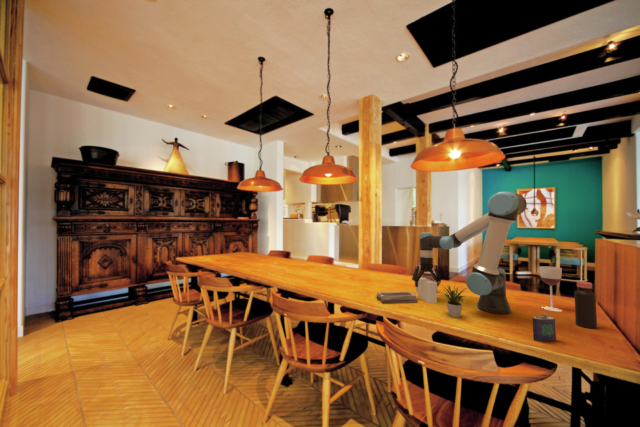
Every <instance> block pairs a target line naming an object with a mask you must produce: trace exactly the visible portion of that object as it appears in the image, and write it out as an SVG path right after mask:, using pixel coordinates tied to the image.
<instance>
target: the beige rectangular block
mask: <svg viewBox="0 0 640 427" xmlns="http://www.w3.org/2000/svg"><path fill="white" fill-rule="evenodd" d="M418 282H420V293H418V292H417V297H418V298H419V299H421V300H423V301H425V302H426V303H429V304H436V303H438V299H437V298H438V297H437V295H438V294H437V293H438V287H436V282H434V281H431V280H429V279H426V278H422V277H421V278H420V279H419V281H418Z"/></svg>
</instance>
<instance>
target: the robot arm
mask: <svg viewBox="0 0 640 427" xmlns="http://www.w3.org/2000/svg"><path fill="white" fill-rule="evenodd" d="M527 204H528V203H527V200H526V198H525V197H524V196H523V195H521V194H519V193H515V192H512V191H499V192H496V193H493V194H492V195H491V196H490V197H489V199H488V201H487V208H488V212H487V213H485V214H484V215H482V216H480V217H479V218H477V219H475V220H474V221H472V222H471V223H468V224H467V225H465V226H463V227H462V228H461V229H459V230H457V231H455V232H454V233H452V234H451V235H441V236H440V235H439V236H438V235H433V232H428V231H427V232H424V231H423V232H420V233H419V256H420V257H419V265H417V264H415V265H414V266H415V267H414V271H413V274H412V277H411V280H412V281H414V287H415V290H416V293H417V294H418V293H420V282H418V281H419V279H420V278H422V274H423V273H424V272H430V273H431V275H432V276H433V278H434V280H435V281H434V282H436V287H437V288H439V285H438V283H439V281H441V282H442V280H443V279H442V278H441V277H442V276H441V274H440V271H439V266H438V265H437V264H434V258H433V257H434V249H439V250H440V249H441V250H442V249H443V250H451V249H456V248H460V247H461V246H462V244H463V243H465V242H467V241H469V240H471V239H472V238H474V237H476V236H478V235H480V234H482V233H484V232H485V231H486V233H485V238H484V239H483V240H484V241H483V243H482V247H481V250H480V254H479V257H478V260H477V263H476V264H473V265H472V268H471V272H470V273H468V275H466V278H465V285H466V288H467V289H468V290H469V291H470V292H471V293H473V294H475V295H478V296H479V297H478V300H477V303H476V305H477V309H479V310H481V311H484V312H487V313H491V314H498V315H509V314H511V312H512V311H511V306H510V303H509V301H508V299H507V281H506V280H507V275H506V271H505V269H504V268H498V267H499V263H500V260H501V257H502V254H503V251H504V247H505V244H506V241H507V239H508V238H507V237H508V234H509V232H510V228H511V225H512V224H513V223H515V222H516V221H517V218H518V216H519V215H521V214H522V213H524V212H525V210H526V209H527V206H528V205H527ZM434 272H435V274H434ZM436 276H437V277H436Z"/></svg>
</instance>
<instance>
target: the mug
mask: <svg viewBox="0 0 640 427" xmlns="http://www.w3.org/2000/svg"><path fill="white" fill-rule="evenodd" d="M434 274H435V275H436V273H435V271H434ZM436 277H437V276H436ZM421 278H426V279H429V280H431V281H435V280H434V278H433V276H432V275H431V273H430V272H424V273H423V274H422V276H421ZM441 282H442V280H441V281H439V282H438V286H440V284H441Z"/></svg>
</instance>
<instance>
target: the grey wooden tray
mask: <svg viewBox="0 0 640 427" xmlns="http://www.w3.org/2000/svg"><path fill="white" fill-rule="evenodd" d="M376 299H377V300H378V301H379V302H381V303H382V304H384V305H387V304H390V305H391V304H418V299H417V295H416V294H413V293H412V292H410V291H392V292H391V291H389V292H386V291H385V292H382V291H381V292H377V294H376Z"/></svg>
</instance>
